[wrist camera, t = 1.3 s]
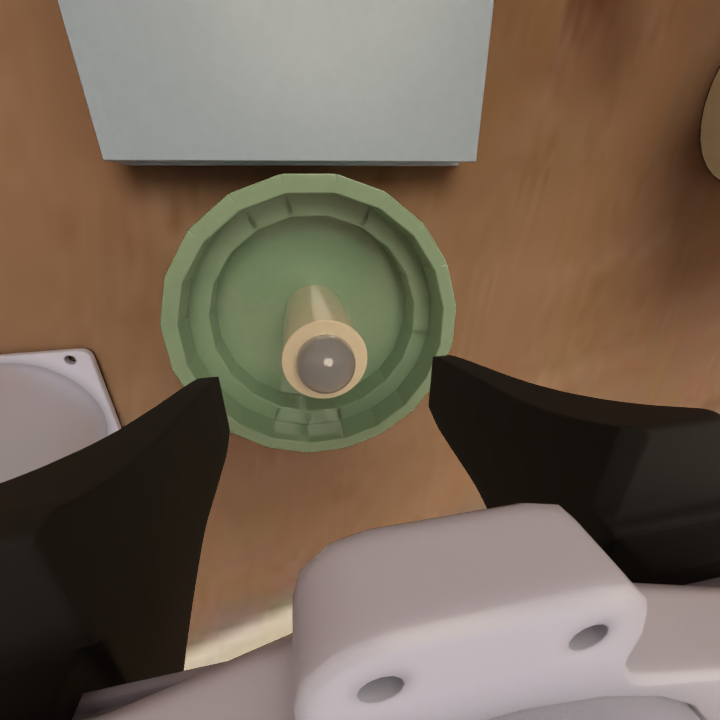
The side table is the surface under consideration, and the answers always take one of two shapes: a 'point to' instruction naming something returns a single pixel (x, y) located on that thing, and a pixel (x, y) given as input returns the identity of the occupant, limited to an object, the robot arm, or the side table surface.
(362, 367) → the shaker
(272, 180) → the bowl
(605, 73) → the side table surface
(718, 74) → the reusable coffee cup
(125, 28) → the book
